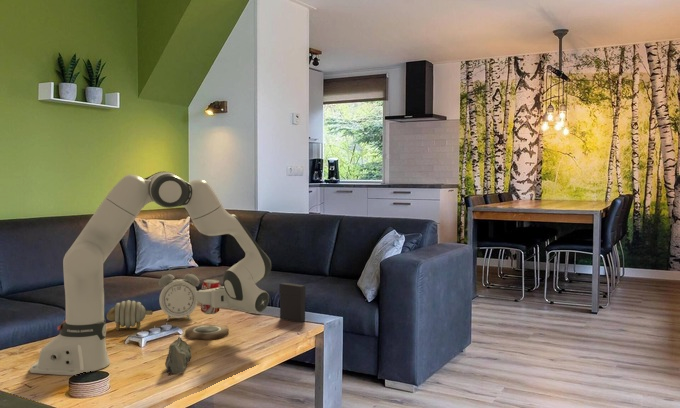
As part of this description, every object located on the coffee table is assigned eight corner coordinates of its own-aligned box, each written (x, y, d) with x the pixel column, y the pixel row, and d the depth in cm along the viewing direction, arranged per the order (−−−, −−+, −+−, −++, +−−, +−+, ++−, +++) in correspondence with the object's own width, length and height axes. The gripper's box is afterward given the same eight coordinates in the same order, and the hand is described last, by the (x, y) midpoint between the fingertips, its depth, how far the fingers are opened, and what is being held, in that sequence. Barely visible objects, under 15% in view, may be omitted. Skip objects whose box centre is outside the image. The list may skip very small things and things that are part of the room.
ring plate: (181, 340, 213) (181, 335, 212) (189, 328, 228) (189, 323, 228) (225, 339, 214) (225, 334, 214) (230, 328, 230) (230, 323, 230)
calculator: (306, 320, 243) (306, 285, 242) (300, 323, 240) (300, 286, 239) (285, 317, 249) (285, 282, 248) (278, 319, 245) (279, 283, 245)
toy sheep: (106, 326, 229) (106, 298, 229) (152, 323, 235) (152, 296, 234) (105, 333, 219) (105, 304, 219) (153, 330, 225) (153, 301, 225)
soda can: (218, 315, 216) (219, 283, 215) (198, 314, 215) (200, 282, 214) (220, 310, 223) (222, 279, 222) (202, 309, 222) (203, 278, 221)
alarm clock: (157, 322, 237) (157, 268, 236) (159, 317, 245) (159, 265, 244) (199, 320, 241) (199, 267, 240) (199, 315, 249) (199, 264, 248)
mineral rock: (184, 359, 191) (185, 328, 191) (208, 365, 185) (208, 334, 185) (153, 370, 180) (153, 337, 180) (177, 377, 174) (177, 343, 174)
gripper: (255, 283, 218) (231, 278, 227) (210, 290, 202) (187, 285, 211) (255, 299, 218) (231, 294, 227) (210, 308, 203) (186, 302, 212)
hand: (209, 290), depth 219 cm, fingers closed on soda can, 7 cm apart
